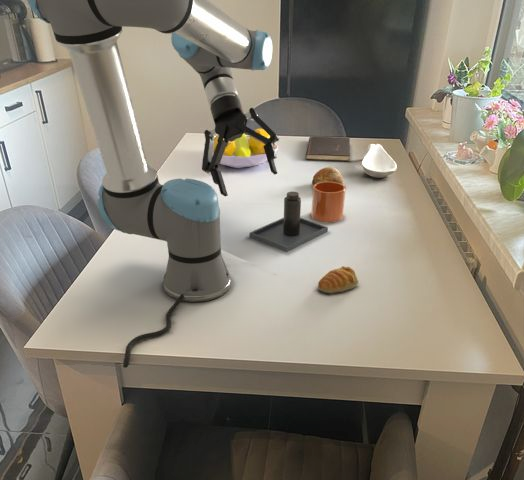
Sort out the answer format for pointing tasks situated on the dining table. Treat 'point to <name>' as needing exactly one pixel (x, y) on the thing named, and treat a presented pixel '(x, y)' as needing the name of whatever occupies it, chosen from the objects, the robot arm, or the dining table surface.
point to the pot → (328, 201)
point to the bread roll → (327, 176)
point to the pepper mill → (292, 214)
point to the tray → (277, 239)
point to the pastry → (338, 280)
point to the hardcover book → (328, 149)
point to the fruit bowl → (244, 151)
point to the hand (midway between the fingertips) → (248, 184)
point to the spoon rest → (378, 162)
